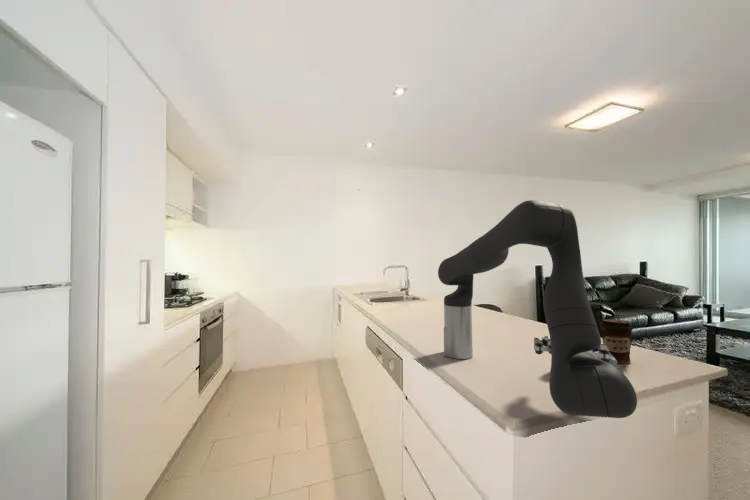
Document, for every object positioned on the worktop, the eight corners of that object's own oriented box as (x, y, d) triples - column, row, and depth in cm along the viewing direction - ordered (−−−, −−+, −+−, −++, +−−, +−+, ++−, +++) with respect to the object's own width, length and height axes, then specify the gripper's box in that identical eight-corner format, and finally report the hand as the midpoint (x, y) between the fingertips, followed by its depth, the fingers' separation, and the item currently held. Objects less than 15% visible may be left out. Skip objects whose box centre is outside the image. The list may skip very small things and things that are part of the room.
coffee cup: (638, 367, 85) (636, 324, 86) (603, 362, 89) (601, 321, 90) (631, 359, 92) (629, 319, 93) (599, 355, 97) (597, 317, 97)
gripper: (618, 345, 55) (599, 329, 69) (533, 337, 61) (533, 324, 76) (620, 385, 54) (601, 361, 68) (535, 372, 61) (534, 353, 75)
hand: (565, 341), depth 72 cm, fingers open, 8 cm apart
